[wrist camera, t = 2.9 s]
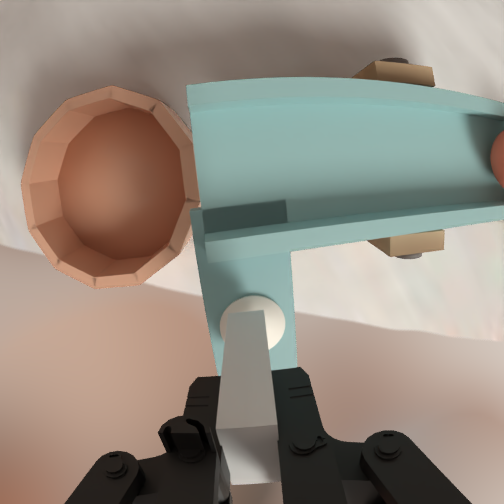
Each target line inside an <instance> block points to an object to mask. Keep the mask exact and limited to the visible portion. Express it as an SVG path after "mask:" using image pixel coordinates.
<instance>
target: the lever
mask: <svg viewBox="0 0 504 504" xmlns="http://www.w3.org/2000/svg"><path fill="white" fill-rule="evenodd" d="M186 91H187V101H188V108H189V111H190V117H191V127H192V136H193V145H194V154H195V162H196V171H197V179H198V187H199V194H200V202H201V207H199V208H192V209H190V211H189V212H190V219H191V226H192V233H193V239H194V246H195V252H196V259H197V265H198V271H199V277H200V283H201V289H202V294H203V300H204V305H205V311H206V317H207V322H208V327H209V333H210V337H211V343H212V348H213V353H214V358H215V363H216V368H217V372H218V376H221V372H222V362H223V353H224V344H225V335H226V326H227V317H228V313H237V312H247V311H257V310H264V315H265V323H266V332H267V340H268V348H269V357H270V365H271V370H280V369H288V368H296V367H297V350H296V331H295V314H294V299H293V284H292V270H291V256H290V252H291V251H298V250H304V249H311V248H318V247H325V246H332V245H338V244H345V243H352V242H359V241H366V240H372V239H379V238H386V237H392V236H399V235H406V234H412V233H419V232H426V231H432V230H439V229H446V228H452V227H459V226H465V225H472V224H478V223H485V222H491V221H498V220H504V188H503V187H502V186H501V185H500V184H499V182H498V181H497V179H496V177H495V176H494V173H493V170H492V167H491V159H490V155H491V148H492V145H493V142H494V140H495V139H496V137H497V136H498V135H499V134H500V133H501V132H502V131H503V130H504V103H501V102H498V101H494V100H490V99H486V98H482V97H478V96H474V95H469V94H464V93H460V92H455V91H450V90H444V89H439V88H433V87H427V86H420V85H413V84H406V83H397V82H388V81H378V80H367V79H352V78H330V77H278V78H255V79H240V80H228V81H218V82H208V83H200V84H192V85H186Z"/></svg>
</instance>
